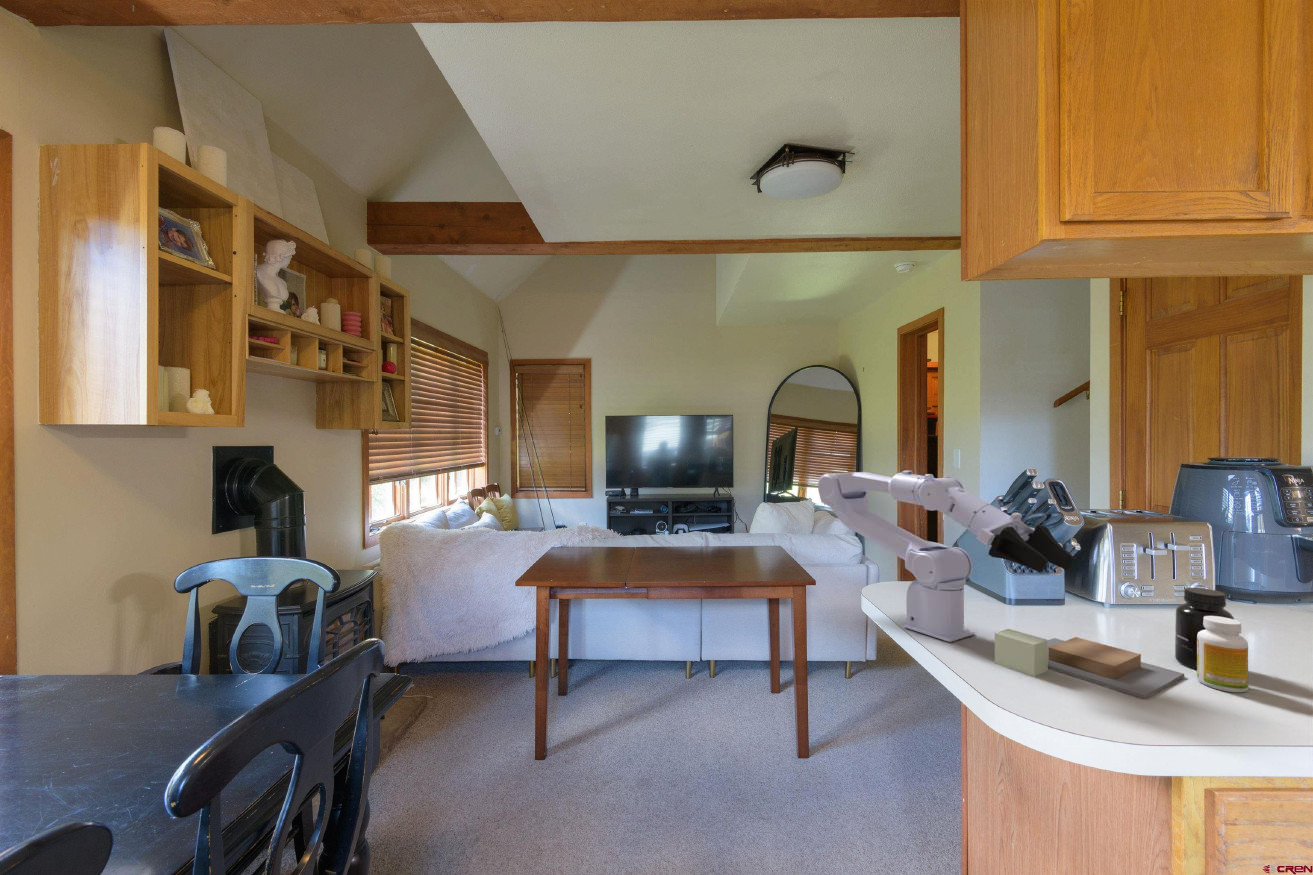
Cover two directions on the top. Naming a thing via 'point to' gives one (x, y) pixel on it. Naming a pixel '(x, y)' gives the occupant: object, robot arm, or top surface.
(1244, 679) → the supplement bottle
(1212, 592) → the supplement bottle
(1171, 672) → the grey mat
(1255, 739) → the top surface
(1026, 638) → the sage brick
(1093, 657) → the walnut base brick
